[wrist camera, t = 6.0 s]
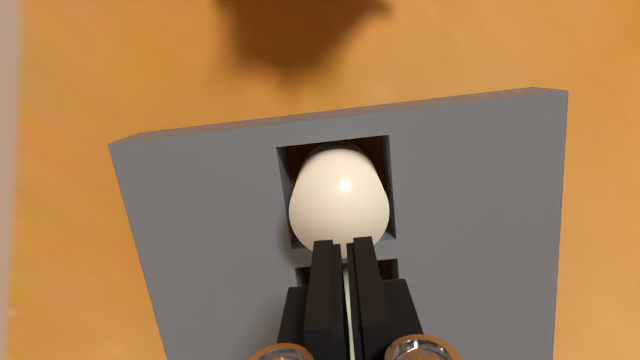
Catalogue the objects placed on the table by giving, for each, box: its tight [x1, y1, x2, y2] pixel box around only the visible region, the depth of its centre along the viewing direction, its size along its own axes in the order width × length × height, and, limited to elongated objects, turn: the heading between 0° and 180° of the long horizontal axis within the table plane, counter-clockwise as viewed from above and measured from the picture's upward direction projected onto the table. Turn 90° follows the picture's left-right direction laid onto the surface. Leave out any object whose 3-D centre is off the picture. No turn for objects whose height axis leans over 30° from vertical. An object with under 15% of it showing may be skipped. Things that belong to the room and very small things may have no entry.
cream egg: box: [289, 141, 389, 258], centre depth 18 cm, size 4×4×5 cm
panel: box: [108, 87, 568, 360], centre depth 21 cm, size 20×19×3 cm
